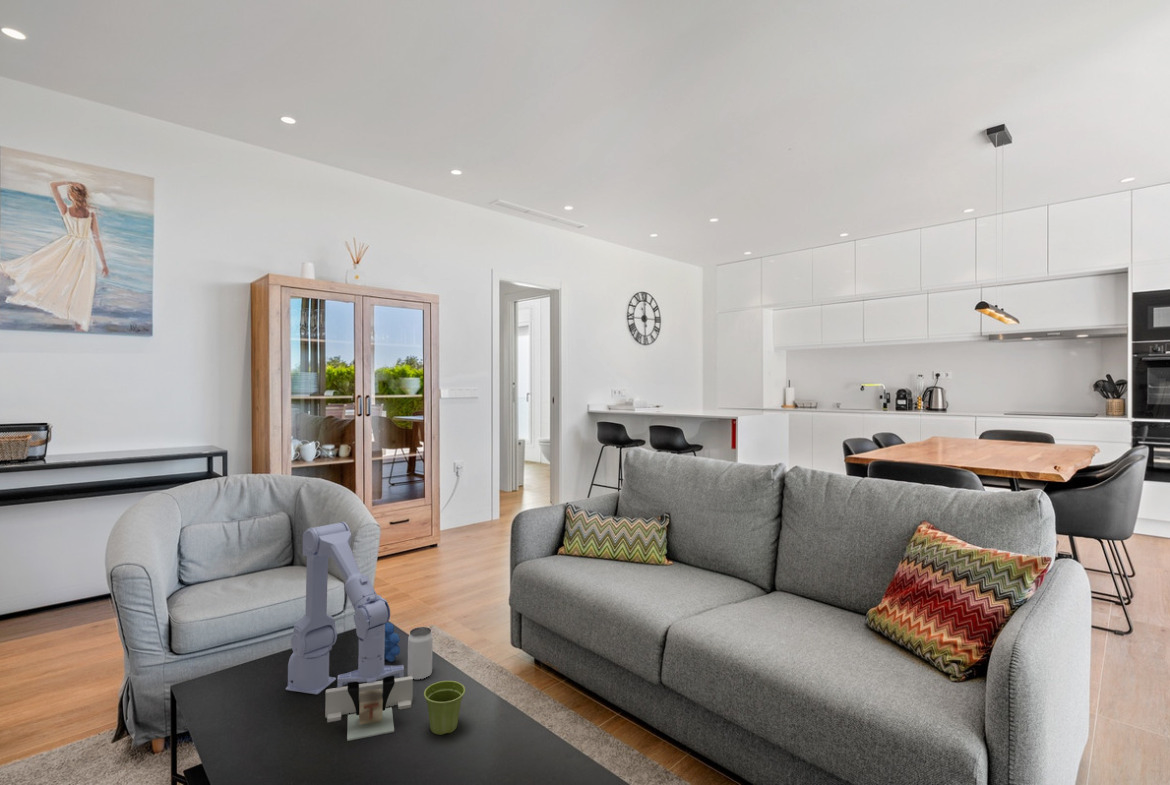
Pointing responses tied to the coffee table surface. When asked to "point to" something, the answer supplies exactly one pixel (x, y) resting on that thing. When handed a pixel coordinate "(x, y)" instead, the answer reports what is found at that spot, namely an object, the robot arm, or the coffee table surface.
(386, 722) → the sage mat
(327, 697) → the grey screen
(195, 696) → the coffee table surface
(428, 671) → the can
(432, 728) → the plant pot
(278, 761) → the coffee table surface
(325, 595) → the robot arm
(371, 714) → the maple cube
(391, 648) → the grapes
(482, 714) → the coffee table surface
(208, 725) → the coffee table surface
